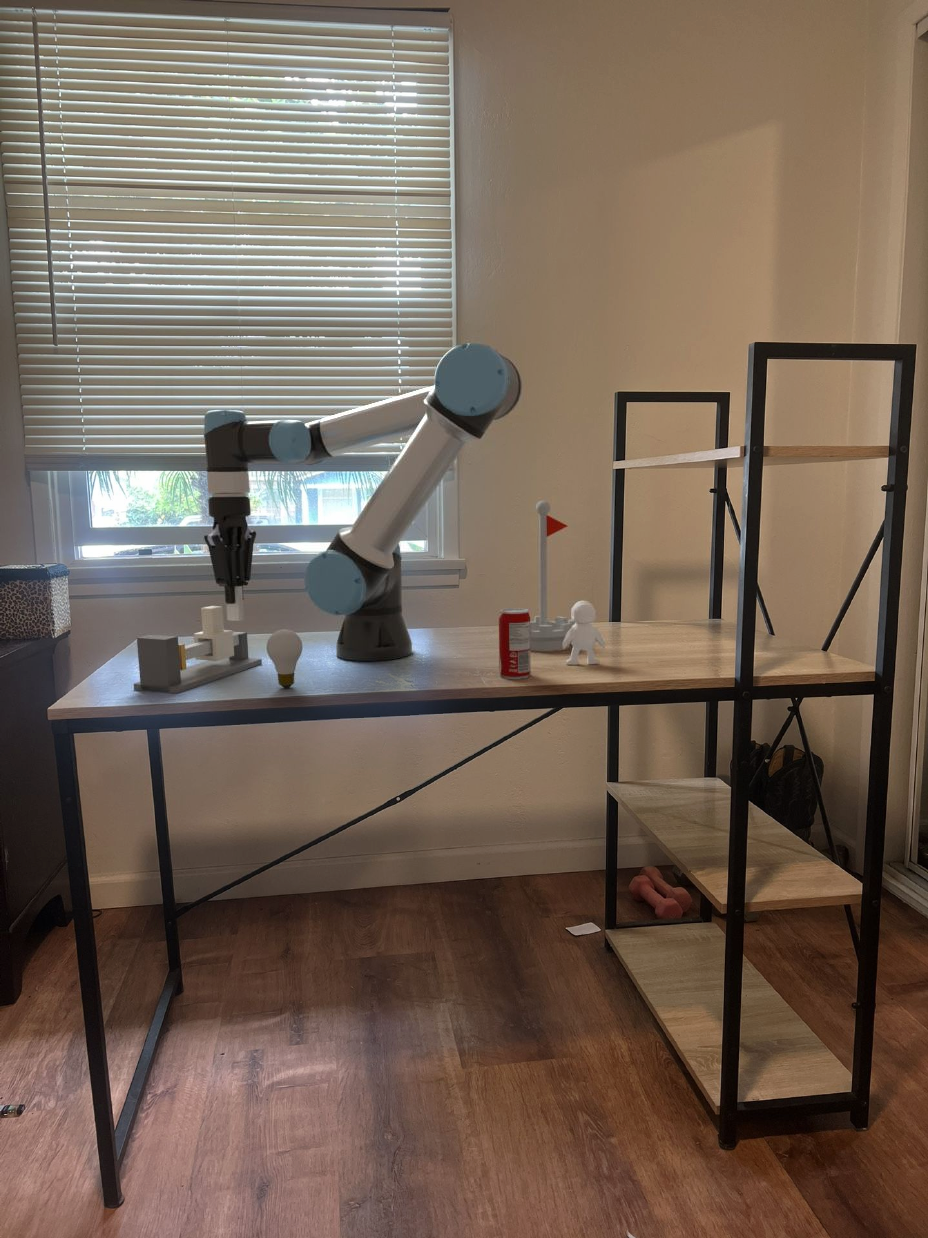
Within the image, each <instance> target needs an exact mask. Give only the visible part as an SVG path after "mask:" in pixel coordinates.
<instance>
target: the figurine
mask: <svg viewBox="0 0 928 1238" xmlns="http://www.w3.org/2000/svg"><path fill="white" fill-rule="evenodd" d="M570 610H571V611H570V614H571V615H570V616H571V618H570V619H572V620H573V621H574V622H575V624H574V625H573V626H572V628H571V629H570V630H569V631H568V632H567V634H566V636H565V638H564V641H563V643H562V645H563V649H564V648H566V647H567V646H568V645H569V644H570V645H572V649H571V653H570V657H569V659H567V660H566V661H565V663H566V665H572V666H573V665H574V666H575V665H576V666H577V665H579V653H580V651H584V652H585V651H586V656H587V658H586V659H587V660H586V664H587V665H594V664H596V665H597V664H598V665H599V664H600V660H599V659H598V658H596V656H595V651H594V646H595V645H596V643H597V644H599V645H600V646H601V647H602V649H605V647H606V641H605V639H604V637H603V635H602V633H601V631H600V630H599V629H598V627H596V626H594V625H593V624H592V622H595V621H597V617H596V616H597V615H596V614H597V613H596V612H597V611H596V609H595V607H594V605H593V604H592V603H591V602H589V601H587V600H580V601H577V602H576V603H575V604H574V605H573V606H572V607H571V609H570ZM564 650H565V649H564Z"/></svg>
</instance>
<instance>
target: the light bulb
mask: <svg viewBox="0 0 928 1238" xmlns="http://www.w3.org/2000/svg"><path fill="white" fill-rule="evenodd" d="M266 652H267V655H268V657H269V659H270V660H271V661H272V664H273V665H274V667H275V671H276V673H277V680H278V685H280V686H281V687H282V688H284V689H290V688H291V687H292V686H293V684H294V683H295V672H296V667H297V663H298V661H299V658H300V657H301V656H302V653H303V641H302V640H301V638H300V636H299V635H298V634H297V633H296V632H294V631H292V630H291V629H285V628H284V629H283V628H282V629H278V630H276V631H275V632H273V633H272V634H271V635H270V636H269V638H268V639H267V642H266Z"/></svg>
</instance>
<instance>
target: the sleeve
mask: <svg viewBox="0 0 928 1238" xmlns="http://www.w3.org/2000/svg"><path fill="white" fill-rule="evenodd" d="M223 608H224V607H223V606H221V605H219V606H218V605H211V606H204V607H201V609H200V613H201V625H202V626H201V627H202V628H201V629H202V631H199V632H195V633H193V640H194V643H197V642H201V641H205V640H208V639H212V645H213V652H212V653H209V654H205V655H202V656H199V657H195V658H194V659H195V660H200V661H209V660H210V661H219V660H222V659H225V658H228V657H232V656H234V644H233V632H234V631H233V630H232V629H231V630H230V629H225V628H224V627H225V626H224V609H223ZM194 643H193V644H194Z"/></svg>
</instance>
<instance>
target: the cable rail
mask: <svg viewBox="0 0 928 1238" xmlns="http://www.w3.org/2000/svg"><path fill="white" fill-rule="evenodd" d="M248 641H249V640H248V631H247V632H244V631H243V632H242V631H233V644H234V656H232V657H228V658H225V659H222V660H219V661H210V660H205V661H203V662H200V663H196V664H193V665H190V666H187V661H188V660H191V659H196V658H195V657H199V656H202V655H205V654H209V653H212V652H213V645H212V639H208V640H205V641H201V642H197V643H191V644H187V645H186V644H185V643H179V637H178V636H176V635H175V636H174V635H160V634H159V635H158V634H146V635H143V636H139V637H136V645H137V658H138V659H137V660H138V669H139V682H134V683H133V690H135V691H136V690H137V691H144V692H145V691H148V692H159V693H169V694H179V693H182V692H185V691H188V690H192V689H193V688H196V687H200V686H202V685H206V684H208V683H210V682H214V681H216V680H220V679H223V678H225V677H228V676H232V675H234V674H237V673H240V672H243V671H246V670H248V669H251V668H254V667H257V666H259V665H262V663H263V660H262V659H263V658H253V657H249V644H248Z"/></svg>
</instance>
